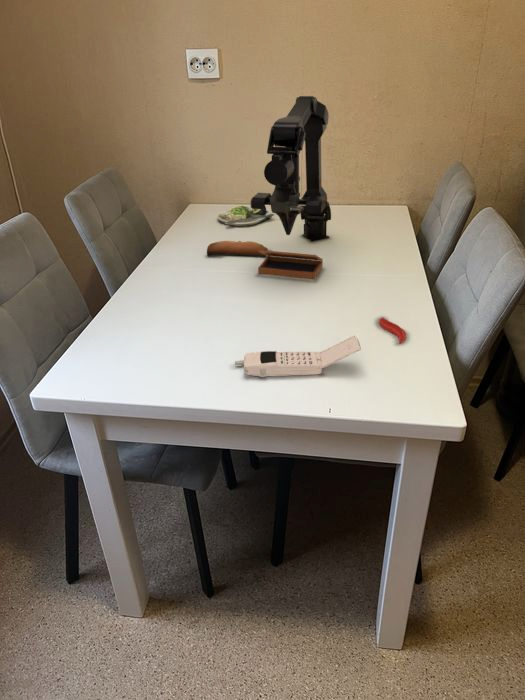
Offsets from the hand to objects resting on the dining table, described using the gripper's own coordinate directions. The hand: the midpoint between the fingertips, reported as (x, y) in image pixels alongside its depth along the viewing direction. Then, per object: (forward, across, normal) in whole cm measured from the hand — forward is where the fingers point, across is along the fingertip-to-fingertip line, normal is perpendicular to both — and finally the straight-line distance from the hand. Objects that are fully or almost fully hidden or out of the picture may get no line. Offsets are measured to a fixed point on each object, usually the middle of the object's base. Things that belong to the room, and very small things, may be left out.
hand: (288, 234), depth 149 cm
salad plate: (+12, -28, +44) cm, 53 cm away
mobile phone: (+12, +15, -45) cm, 49 cm away
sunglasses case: (+12, -19, +12) cm, 25 cm away
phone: (+11, 0, +2) cm, 11 cm away
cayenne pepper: (+12, +31, -24) cm, 41 cm away
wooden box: (+12, 0, +2) cm, 12 cm away
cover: (+7, 0, +2) cm, 7 cm away
